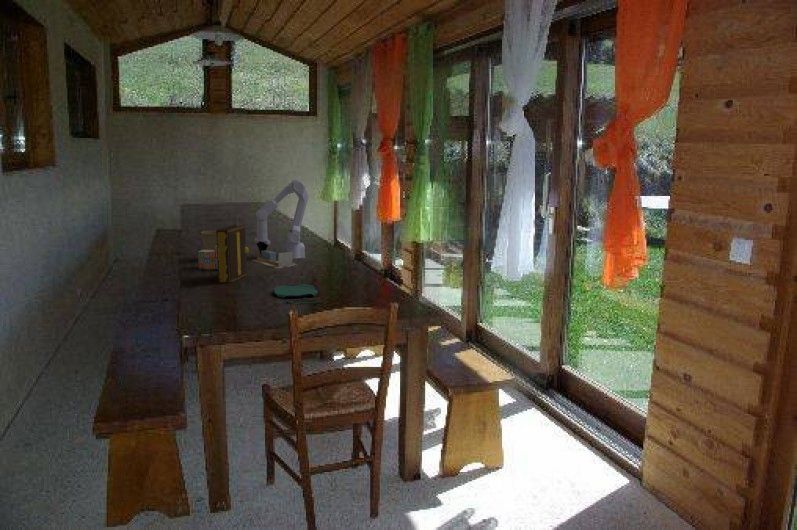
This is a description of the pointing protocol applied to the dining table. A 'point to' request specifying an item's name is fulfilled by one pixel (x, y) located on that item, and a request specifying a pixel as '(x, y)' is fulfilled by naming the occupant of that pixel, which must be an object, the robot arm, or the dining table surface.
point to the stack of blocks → (208, 259)
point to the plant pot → (209, 239)
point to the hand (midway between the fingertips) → (262, 255)
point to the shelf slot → (279, 261)
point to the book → (231, 253)
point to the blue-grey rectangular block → (268, 255)
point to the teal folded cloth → (297, 293)
